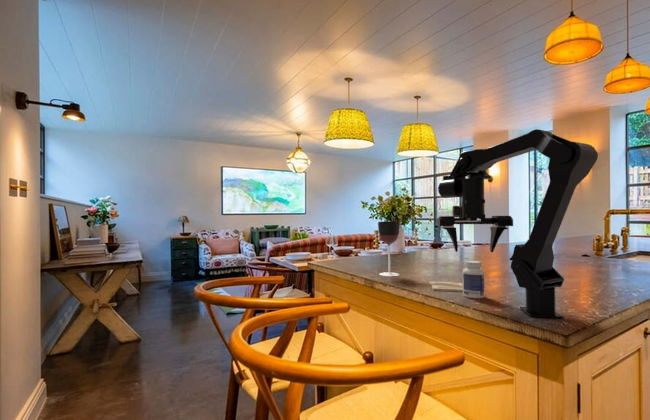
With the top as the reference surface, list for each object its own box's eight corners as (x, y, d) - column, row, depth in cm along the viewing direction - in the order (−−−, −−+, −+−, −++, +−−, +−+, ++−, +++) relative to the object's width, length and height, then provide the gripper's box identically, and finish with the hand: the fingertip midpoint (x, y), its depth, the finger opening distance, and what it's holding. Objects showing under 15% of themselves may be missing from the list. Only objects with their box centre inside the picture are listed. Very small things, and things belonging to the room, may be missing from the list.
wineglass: (403, 273, 124) (402, 221, 124) (395, 277, 117) (394, 222, 117) (383, 271, 129) (383, 221, 129) (375, 275, 121) (374, 222, 121)
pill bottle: (486, 299, 87) (486, 263, 87) (465, 298, 88) (465, 262, 88) (481, 294, 92) (480, 260, 92) (461, 293, 93) (460, 259, 93)
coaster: (469, 291, 95) (469, 289, 95) (433, 290, 97) (433, 288, 97) (461, 284, 105) (461, 282, 105) (429, 283, 106) (429, 281, 106)
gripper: (499, 197, 96) (500, 249, 96) (434, 198, 100) (435, 248, 100) (513, 195, 85) (514, 253, 85) (439, 196, 89) (440, 252, 89)
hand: (473, 251), depth 90 cm, fingers open, 9 cm apart
